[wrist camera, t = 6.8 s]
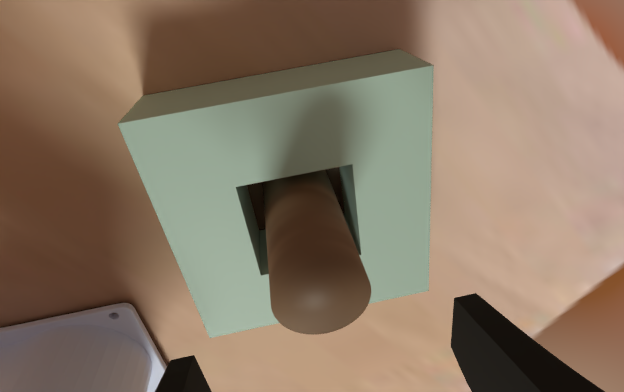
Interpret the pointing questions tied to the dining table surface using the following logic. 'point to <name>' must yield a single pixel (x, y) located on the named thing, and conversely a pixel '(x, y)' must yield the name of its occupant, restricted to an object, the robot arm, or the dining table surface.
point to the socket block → (289, 173)
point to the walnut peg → (311, 256)
